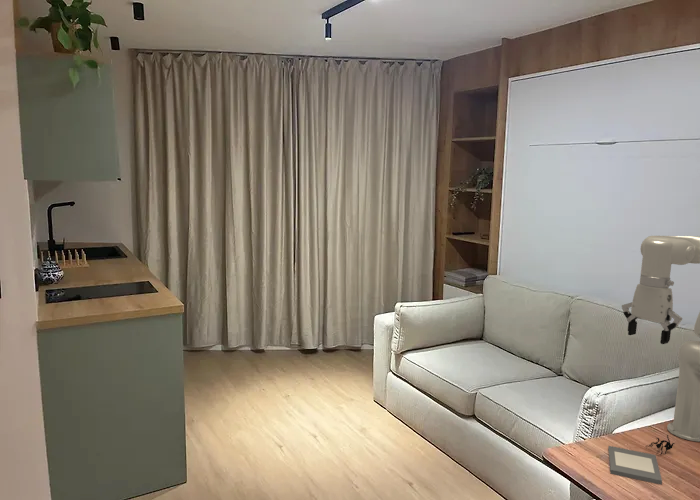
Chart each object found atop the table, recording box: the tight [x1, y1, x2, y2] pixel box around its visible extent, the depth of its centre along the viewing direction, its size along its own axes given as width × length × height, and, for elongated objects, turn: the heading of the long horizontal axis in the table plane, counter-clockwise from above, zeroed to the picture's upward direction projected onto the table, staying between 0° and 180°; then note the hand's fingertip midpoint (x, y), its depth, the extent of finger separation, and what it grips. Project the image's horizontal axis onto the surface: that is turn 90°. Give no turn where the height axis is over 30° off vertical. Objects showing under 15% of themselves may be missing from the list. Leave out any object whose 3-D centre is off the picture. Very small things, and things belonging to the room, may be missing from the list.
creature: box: [645, 434, 676, 457], centre depth 177 cm, size 8×5×8 cm
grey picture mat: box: [607, 445, 663, 486], centre depth 167 cm, size 16×13×1 cm
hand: (647, 338), depth 167 cm, fingers open, 9 cm apart
